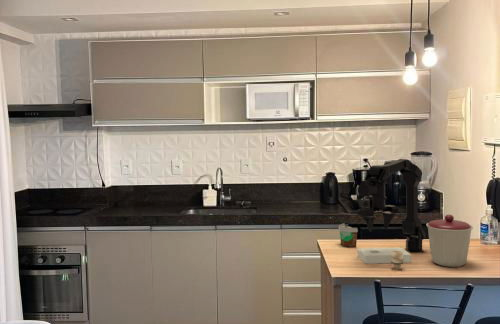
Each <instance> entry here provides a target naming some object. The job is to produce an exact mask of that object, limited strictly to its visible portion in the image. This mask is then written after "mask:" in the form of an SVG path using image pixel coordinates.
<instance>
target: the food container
mask: <svg viewBox="0 0 500 324" xmlns="http://www.w3.org/2000/svg"><path fill="white" fill-rule="evenodd" d="M338 231H339V238H340V240H339V241H340V246H341V247H344V248H350V249H352V248H354V249H355V248H357V240H358V232H359V229H358V227H352V226H348V225H346V224H345V223H341V224H339V225H338Z"/></svg>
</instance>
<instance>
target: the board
mask: <svg viewBox="0 0 500 324" xmlns="http://www.w3.org/2000/svg"><path fill="white" fill-rule="evenodd" d="M391 251H402V252H403V264H405V263H406V264H407V263H409V264H411V263H412V254H411V252H409V251H408V250H406V249H404V248H403V247H372V248H370V247H368V248H363V247H362V248H357V257H358V258H359V259H360V260H361V262H363V264H364V265H365V264H366V265H368V264H370V265H373V264H392V263H391Z"/></svg>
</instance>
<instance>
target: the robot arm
mask: <svg viewBox="0 0 500 324" xmlns="http://www.w3.org/2000/svg"><path fill="white" fill-rule="evenodd" d="M396 172H399V173H400V175H401V176H402V181H403V183H404V184H405V187H406V188H405V189H406V193H405V194H406V197H405V198H406V201H405V202H406V215H405V218H404V220H403V219H402V221H401V224H402V225H401V229H402V233H403V237H404V238H406V239H405V249H404V250H406V251H407V252H408V253H423V252H424V250H423V240H425V239H426V236H427V233H426V231H424V229H423V227H422V225H423V224H422V221H421V219H420V218H419V216H418V214H419V211H418V210H419V209H418V208H419V207H418V206H419V204H418V203H419V200H418V199H419V197H418V195H419V194H418V193H419V192H418V190H419V189H418V188H419V187H418V186H419V185H420V183H421V182H422V179H423V178H422V176H423V172H422V169H421V168H420V167H419V166H418V165H416V164H415V163H414V162H411V160H410V159H407V158H406V159H405V158H399V159H397V160H394V161H391V162H389V163H386V164H382V165H380V164H376V165H371V166H370V167H369V169H368V170H367V174H366V175H365V178H364V180H361V183H360V184H359V185H358V188H357V194H358V195H359V196H361V198H365V197H368V200H365V199H359V200H358V206H359V209H358V210H357V216H359V217H360V218H363V220H364V221H365V224H366V226H367V229H368V231H369V233H371V232H372V231H373V227H374V221H375V214H378V213H381V214H382V216H383V227H384V230H388V228H389V226H390V224H391V222H392V220H393V218H394V217H395V216H396V215H397V213H399V208H398V206H397V205H393V204H392V205H391V204H388V205H387V204H386V201H387V200H388V197H386V185H387V184H389V181H387V180H386V179H387V178H389V177H390V175H391V174H393V173H396Z"/></svg>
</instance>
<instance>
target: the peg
mask: <svg viewBox="0 0 500 324" xmlns="http://www.w3.org/2000/svg"><path fill="white" fill-rule="evenodd" d="M390 264H392V265H393V269H394V270H397V271H398V270H401V267H402V265H403V264H404V263H403V252H402V251H391V263H390Z"/></svg>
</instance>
